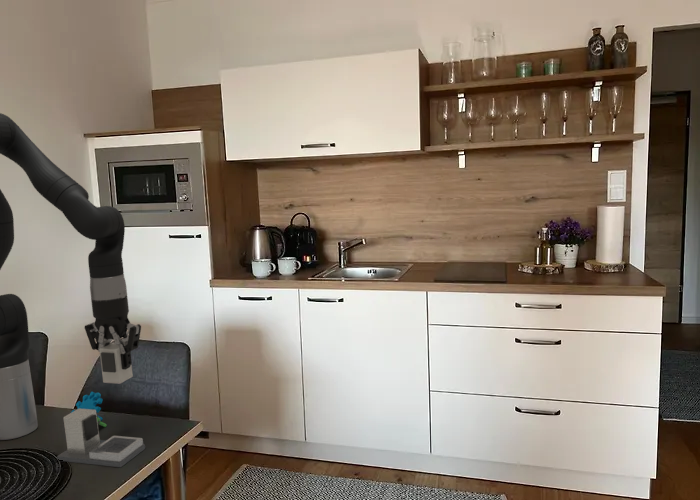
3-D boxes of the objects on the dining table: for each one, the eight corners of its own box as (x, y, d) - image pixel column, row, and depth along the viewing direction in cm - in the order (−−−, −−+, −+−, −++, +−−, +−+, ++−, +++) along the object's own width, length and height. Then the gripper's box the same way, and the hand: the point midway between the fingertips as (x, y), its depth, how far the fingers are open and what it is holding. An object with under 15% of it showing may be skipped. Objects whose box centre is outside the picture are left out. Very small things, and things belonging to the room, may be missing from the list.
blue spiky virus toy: (60, 419, 136) (88, 384, 139) (80, 428, 140) (107, 394, 143) (76, 438, 128) (105, 401, 131) (96, 448, 132) (124, 411, 135)
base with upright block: (57, 460, 119) (52, 420, 117) (85, 442, 126) (80, 404, 125) (120, 467, 114) (115, 425, 113) (145, 448, 122) (140, 409, 120)
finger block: (101, 383, 127) (97, 349, 125) (116, 375, 131) (112, 342, 130) (118, 384, 125) (114, 350, 124) (132, 376, 130) (129, 343, 129)
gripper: (70, 298, 124) (79, 371, 127) (124, 299, 120) (132, 375, 123) (94, 291, 131) (102, 360, 134) (146, 292, 127) (153, 363, 130)
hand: (117, 367), depth 128 cm, fingers closed on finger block, 4 cm apart
